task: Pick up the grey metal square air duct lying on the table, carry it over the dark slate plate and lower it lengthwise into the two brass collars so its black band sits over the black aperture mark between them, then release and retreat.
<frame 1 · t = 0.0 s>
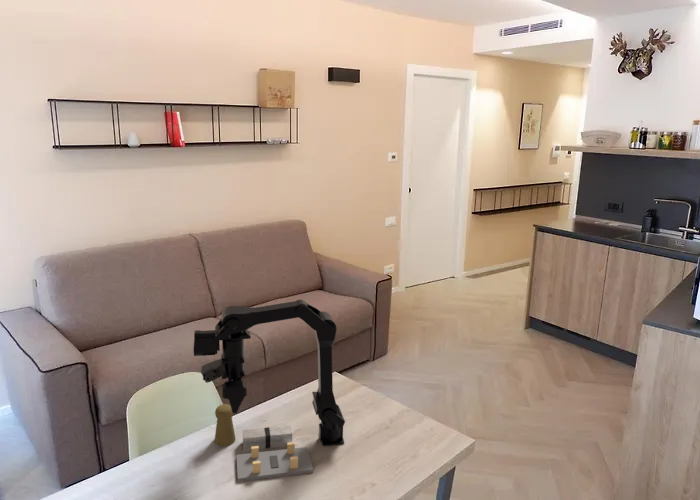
hand: (234, 403, 148), 15 cm above the table, fingers open, 9 cm apart
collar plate: (274, 465, 146), on the table
air duct: (267, 443, 155), on the table
cork: (225, 440, 156), on the table
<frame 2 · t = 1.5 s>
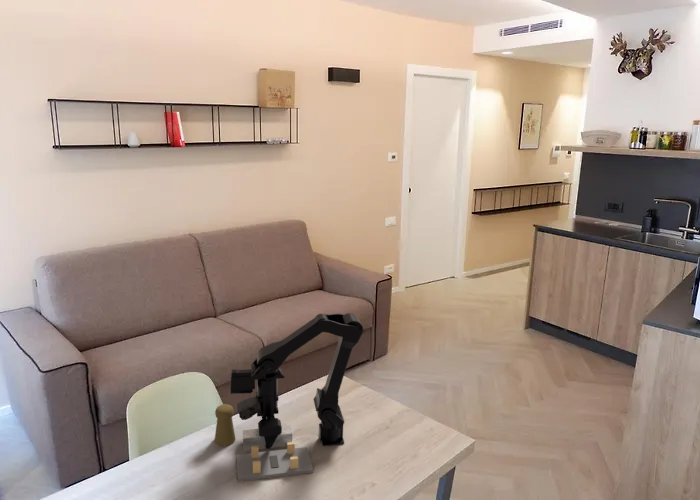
hand: (267, 438, 154), 2 cm above the table, fingers open, 9 cm apart
nothing on the table moved.
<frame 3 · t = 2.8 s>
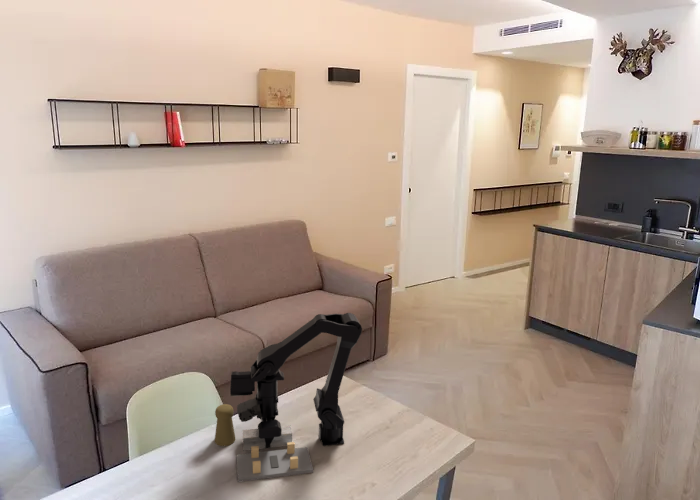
hand: (267, 440, 154), 1 cm above the table, fingers closed on air duct, 4 cm apart
air duct: (267, 443, 155), on the table, touching gripper
everything else where it was.
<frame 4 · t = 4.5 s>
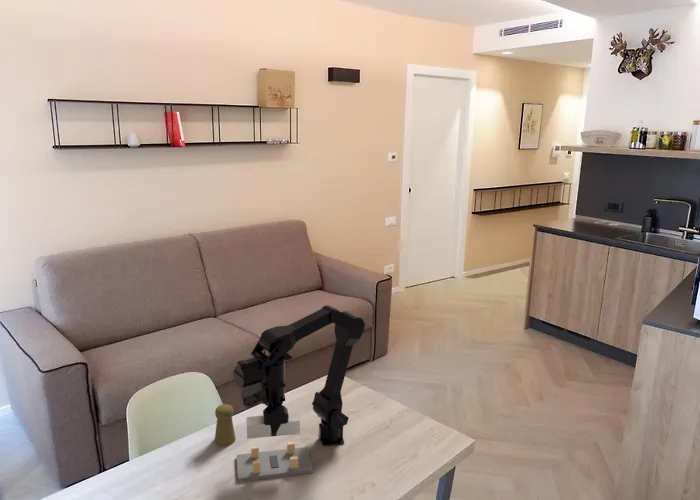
hand: (273, 428, 143), 11 cm above the table, fingers closed on air duct, 4 cm apart
air duct: (273, 431, 144), point 10 cm above the table, touching gripper
everything else where it was.
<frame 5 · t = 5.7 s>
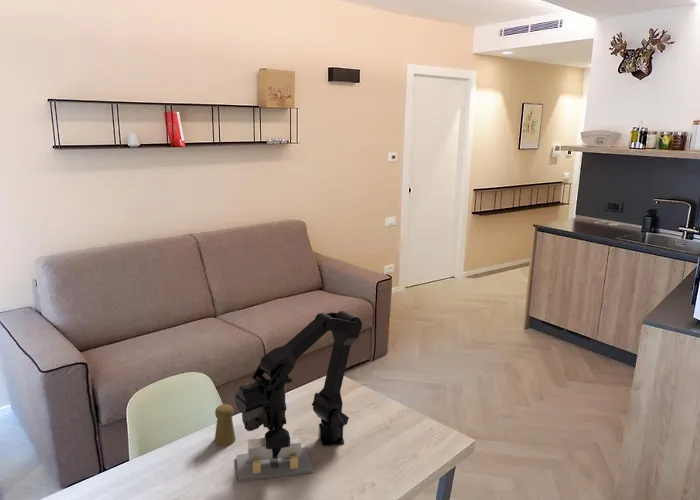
hand: (274, 450, 144), 5 cm above the table, fingers closed on air duct, 4 cm apart
air duct: (274, 453, 145), point 4 cm above the table, touching gripper
everything else where it was.
when the fingers open (4 cm above the table, at t = 6.6 s): air duct drops 2 cm, resting on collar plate.
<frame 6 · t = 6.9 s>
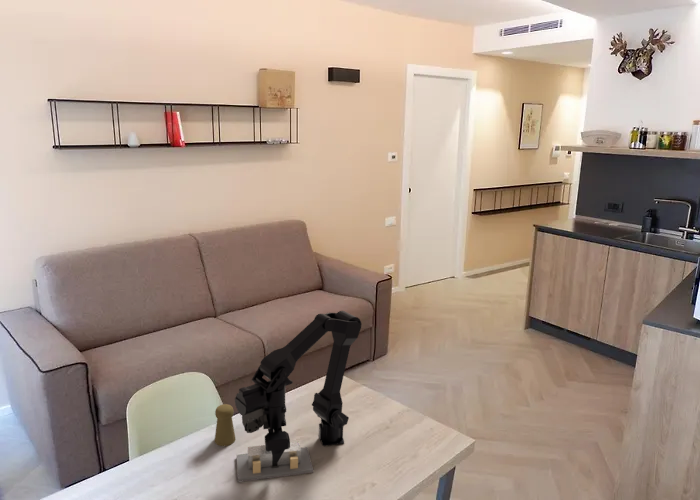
hand: (274, 452, 145), 4 cm above the table, fingers open, 8 cm apart
air duct: (274, 461, 145), point 1 cm above the table, touching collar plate
everything else where it was.
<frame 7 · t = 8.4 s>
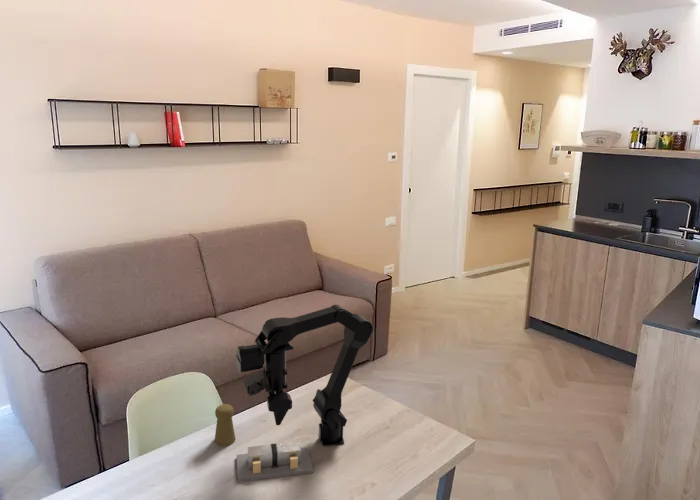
hand: (275, 415, 148), 12 cm above the table, fingers open, 9 cm apart
nothing on the table moved.
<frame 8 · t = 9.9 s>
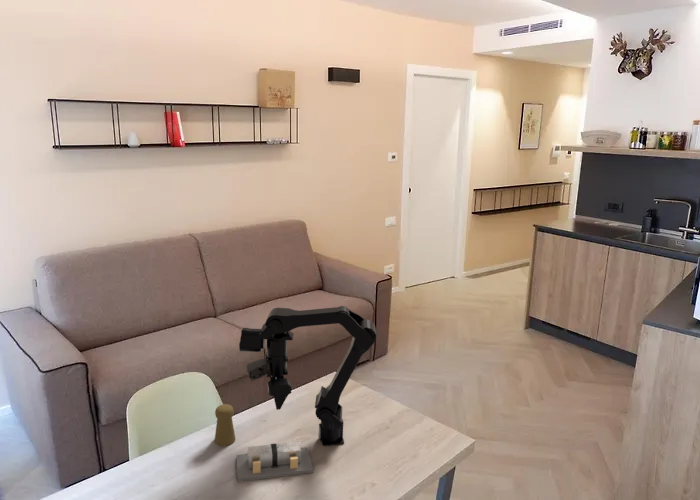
hand: (276, 400, 155), 12 cm above the table, fingers open, 9 cm apart
nothing on the table moved.
at the end: air duct 0.1 cm from the target spot, point 1.2 cm above the table; air duct tilted 0°; the gripper is holding nothing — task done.
